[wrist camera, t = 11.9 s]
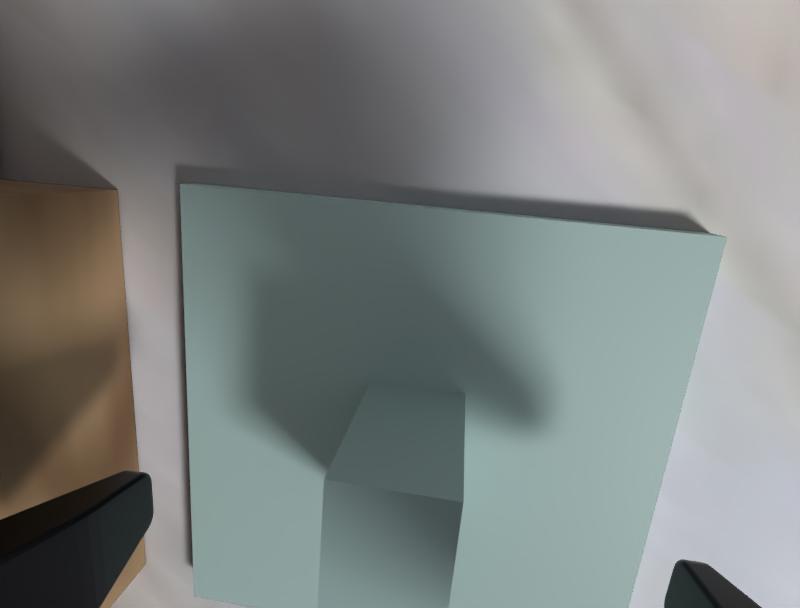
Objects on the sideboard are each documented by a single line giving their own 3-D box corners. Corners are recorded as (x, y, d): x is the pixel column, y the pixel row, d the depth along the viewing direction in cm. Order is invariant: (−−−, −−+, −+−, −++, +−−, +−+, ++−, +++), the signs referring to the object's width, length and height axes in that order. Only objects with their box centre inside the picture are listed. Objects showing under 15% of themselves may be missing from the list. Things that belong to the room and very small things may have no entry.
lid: (596, 631, 13) (667, 885, 8) (217, 560, 14) (93, 749, 9) (696, 229, 10) (890, 276, 5) (210, 182, 11) (29, 188, 6)
